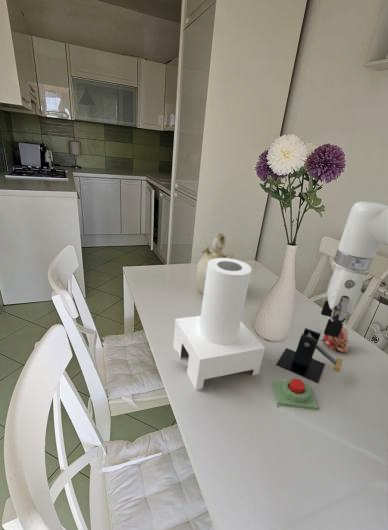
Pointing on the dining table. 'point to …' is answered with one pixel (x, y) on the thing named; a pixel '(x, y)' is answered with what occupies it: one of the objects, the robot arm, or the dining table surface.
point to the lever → (328, 355)
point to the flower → (337, 340)
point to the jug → (208, 256)
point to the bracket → (303, 358)
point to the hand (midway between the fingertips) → (328, 324)
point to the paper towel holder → (220, 326)
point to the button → (297, 386)
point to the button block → (293, 395)
